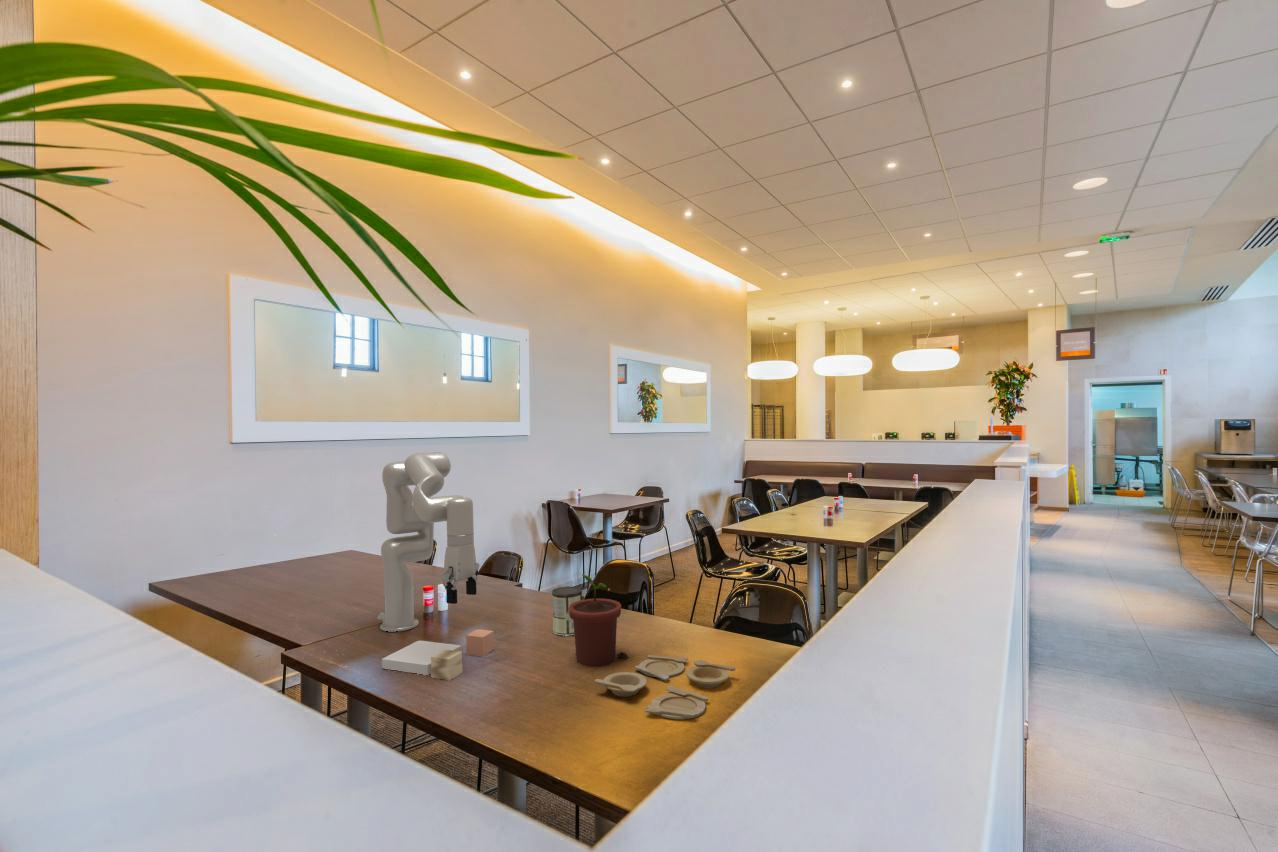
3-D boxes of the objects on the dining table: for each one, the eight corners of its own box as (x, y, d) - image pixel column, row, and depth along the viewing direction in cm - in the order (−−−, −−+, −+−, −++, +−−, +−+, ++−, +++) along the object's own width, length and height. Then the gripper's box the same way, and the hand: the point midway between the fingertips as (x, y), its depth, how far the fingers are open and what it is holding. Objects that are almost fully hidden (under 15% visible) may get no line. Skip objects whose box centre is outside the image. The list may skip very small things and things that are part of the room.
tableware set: (687, 730, 138) (686, 713, 138) (584, 702, 153) (584, 686, 153) (745, 676, 167) (745, 661, 167) (654, 656, 183) (654, 643, 183)
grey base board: (381, 669, 175) (381, 659, 175) (418, 649, 191) (418, 640, 191) (427, 675, 170) (427, 665, 170) (461, 655, 185) (461, 645, 185)
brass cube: (431, 678, 169) (430, 657, 169) (444, 670, 174) (444, 649, 174) (449, 681, 167) (448, 659, 167) (462, 672, 172) (462, 651, 172)
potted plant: (554, 661, 179) (552, 577, 179) (597, 639, 197) (596, 563, 197) (602, 673, 170) (601, 585, 170) (643, 649, 188) (641, 569, 188)
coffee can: (562, 625, 212) (562, 585, 213) (588, 628, 208) (587, 587, 208) (546, 634, 203) (545, 592, 203) (572, 638, 199) (572, 595, 199)
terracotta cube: (466, 654, 186) (466, 635, 186) (477, 648, 192) (477, 629, 192) (483, 656, 184) (482, 637, 184) (494, 650, 190) (493, 630, 190)
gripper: (466, 535, 186) (467, 590, 186) (431, 545, 169) (432, 606, 169) (487, 535, 184) (489, 591, 183) (454, 545, 167) (455, 607, 167)
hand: (461, 598), depth 176 cm, fingers open, 9 cm apart
